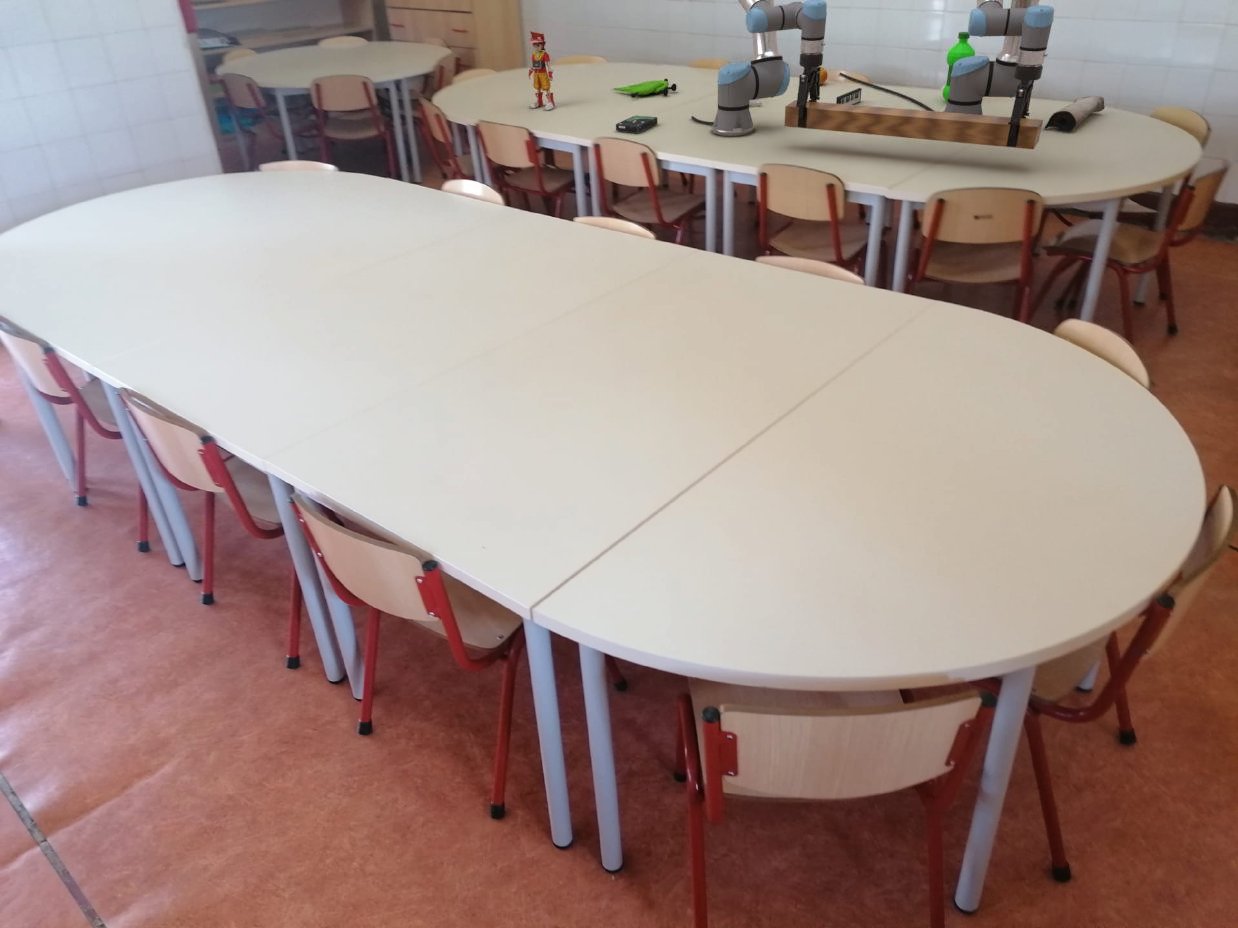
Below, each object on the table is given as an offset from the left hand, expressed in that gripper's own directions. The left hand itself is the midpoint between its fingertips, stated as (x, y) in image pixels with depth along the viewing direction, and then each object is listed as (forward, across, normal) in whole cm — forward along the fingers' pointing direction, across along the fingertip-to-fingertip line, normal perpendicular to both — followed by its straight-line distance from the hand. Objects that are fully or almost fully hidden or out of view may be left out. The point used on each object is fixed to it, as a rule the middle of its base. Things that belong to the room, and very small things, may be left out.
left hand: (806, 123), depth 309 cm
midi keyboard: (+9, +60, +5) cm, 61 cm away
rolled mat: (+8, +63, -78) cm, 101 cm away
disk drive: (+9, +4, +70) cm, 71 cm away
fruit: (+10, +92, +30) cm, 98 cm away
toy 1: (+10, +19, +125) cm, 127 cm away
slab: (0, 0, -34) cm, 34 cm away
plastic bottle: (+9, +79, -32) cm, 86 cm away
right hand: (-1, 0, -68) cm, 68 cm away
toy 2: (+10, +57, +98) cm, 114 cm away
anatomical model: (+10, +52, +46) cm, 70 cm away
